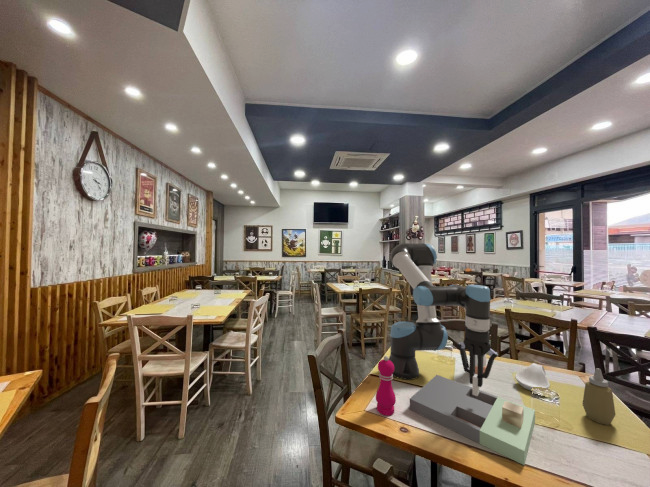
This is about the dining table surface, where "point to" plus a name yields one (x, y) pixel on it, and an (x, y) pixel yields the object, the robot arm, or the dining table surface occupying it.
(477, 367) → the salt shaker
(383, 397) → the pepper mill
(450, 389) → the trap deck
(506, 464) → the dining table surface
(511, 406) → the birch block
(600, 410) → the squeeze bottle
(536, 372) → the spoon rest
